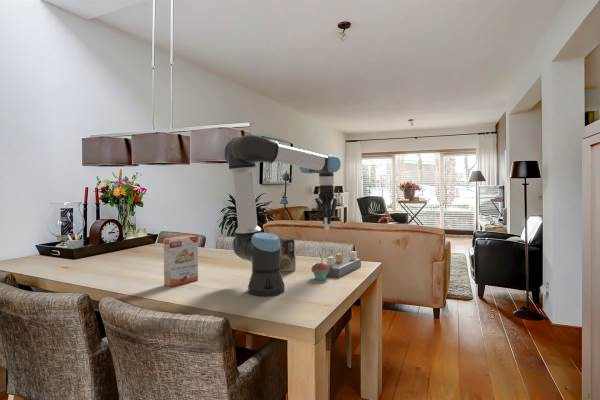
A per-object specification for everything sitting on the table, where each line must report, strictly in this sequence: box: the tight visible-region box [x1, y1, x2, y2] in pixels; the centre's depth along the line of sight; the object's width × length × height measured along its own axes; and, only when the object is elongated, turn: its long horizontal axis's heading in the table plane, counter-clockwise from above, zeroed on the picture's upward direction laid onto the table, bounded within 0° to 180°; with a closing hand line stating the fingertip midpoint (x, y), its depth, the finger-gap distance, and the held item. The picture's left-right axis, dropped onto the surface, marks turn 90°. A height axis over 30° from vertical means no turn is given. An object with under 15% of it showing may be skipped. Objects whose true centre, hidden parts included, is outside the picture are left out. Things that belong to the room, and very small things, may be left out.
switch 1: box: [326, 256, 335, 266], centre depth 171 cm, size 3×2×4 cm
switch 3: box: [349, 250, 358, 260], centre depth 184 cm, size 3×2×4 cm
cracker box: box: [163, 234, 199, 288], centre depth 157 cm, size 14×6×21 cm, turn 139°
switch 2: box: [335, 252, 344, 263], centre depth 179 cm, size 3×2×4 cm
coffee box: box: [279, 237, 297, 272], centre depth 179 cm, size 9×6×16 cm
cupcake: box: [311, 252, 330, 281], centre depth 163 cm, size 9×8×12 cm
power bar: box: [326, 256, 362, 278], centre depth 178 cm, size 26×9×4 cm, turn 147°
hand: (326, 230), depth 182 cm, fingers closed
